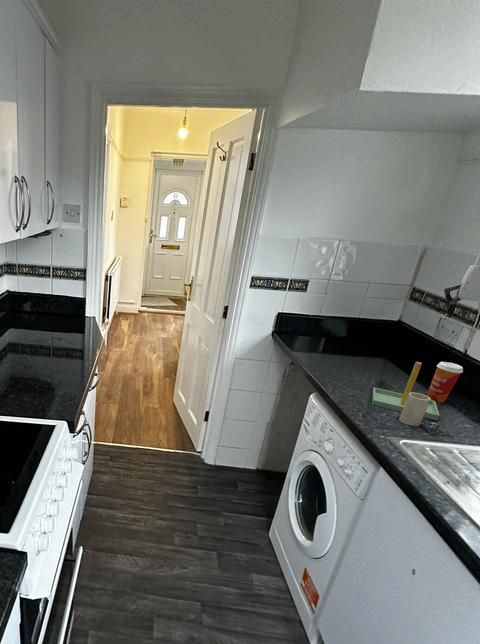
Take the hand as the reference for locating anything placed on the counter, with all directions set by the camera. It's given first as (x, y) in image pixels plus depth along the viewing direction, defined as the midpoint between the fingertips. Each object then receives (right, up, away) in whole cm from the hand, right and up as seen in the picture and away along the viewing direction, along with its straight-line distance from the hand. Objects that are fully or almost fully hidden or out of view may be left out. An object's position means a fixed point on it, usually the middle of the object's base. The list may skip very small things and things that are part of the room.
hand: (468, 319), depth 129 cm
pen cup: (-13, -33, +8) cm, 37 cm away
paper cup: (+12, -26, +28) cm, 40 cm away
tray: (-5, -28, +21) cm, 35 cm away
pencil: (-5, -28, +21) cm, 35 cm away
